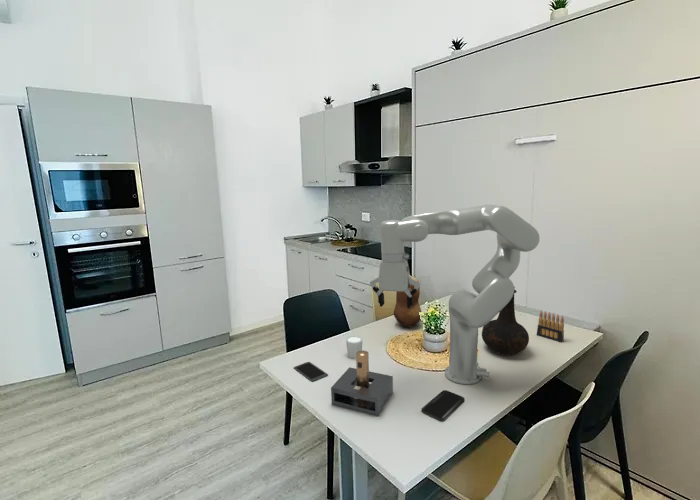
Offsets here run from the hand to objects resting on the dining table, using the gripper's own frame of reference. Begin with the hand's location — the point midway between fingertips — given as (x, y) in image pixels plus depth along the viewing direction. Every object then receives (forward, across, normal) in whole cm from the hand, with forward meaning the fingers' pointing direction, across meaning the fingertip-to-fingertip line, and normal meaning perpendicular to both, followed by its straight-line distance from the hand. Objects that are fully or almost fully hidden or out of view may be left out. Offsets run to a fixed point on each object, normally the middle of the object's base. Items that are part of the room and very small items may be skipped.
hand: (395, 306), depth 124 cm
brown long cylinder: (+28, +8, +14) cm, 32 cm away
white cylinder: (+28, +23, -13) cm, 38 cm away
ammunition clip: (+32, -53, -58) cm, 85 cm away
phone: (+29, -17, +9) cm, 35 cm away
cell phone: (+27, +33, +5) cm, 43 cm away
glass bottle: (+31, -34, -38) cm, 60 cm away
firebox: (+28, +8, +14) cm, 32 cm away
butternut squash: (+29, +10, -52) cm, 60 cm away
